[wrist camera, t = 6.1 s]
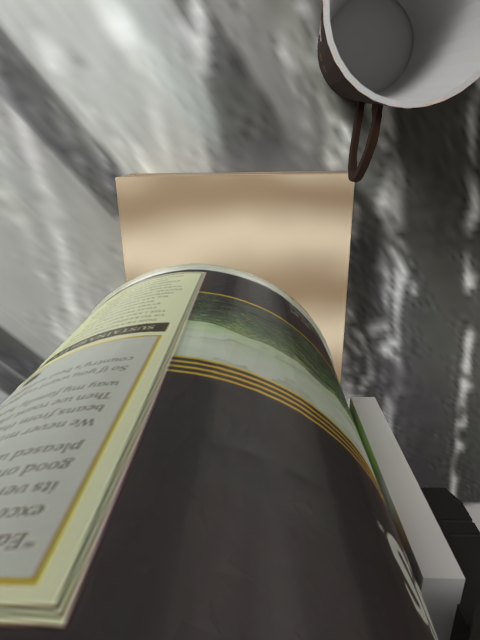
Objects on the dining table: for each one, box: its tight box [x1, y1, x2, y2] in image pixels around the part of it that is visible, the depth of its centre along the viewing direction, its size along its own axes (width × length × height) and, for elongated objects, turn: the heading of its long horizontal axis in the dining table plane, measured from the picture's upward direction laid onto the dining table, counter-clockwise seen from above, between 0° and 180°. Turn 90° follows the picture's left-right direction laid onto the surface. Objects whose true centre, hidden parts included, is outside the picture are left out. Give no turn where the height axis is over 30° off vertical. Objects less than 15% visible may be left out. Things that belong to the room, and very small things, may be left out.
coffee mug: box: [318, 0, 480, 182], centre depth 25 cm, size 12×9×10 cm
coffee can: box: [0, 264, 438, 640], centre depth 11 cm, size 10×10×14 cm
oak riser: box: [115, 171, 354, 382], centre depth 33 cm, size 15×15×4 cm
